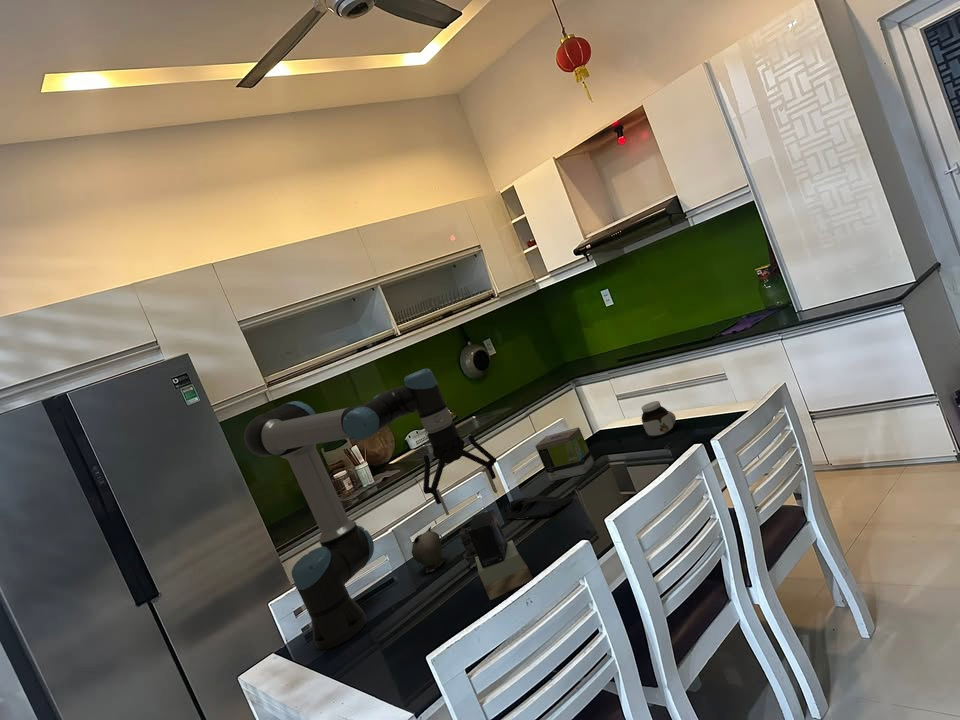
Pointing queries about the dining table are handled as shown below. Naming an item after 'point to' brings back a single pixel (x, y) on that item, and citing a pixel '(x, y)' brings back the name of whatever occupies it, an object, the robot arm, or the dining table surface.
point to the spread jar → (657, 419)
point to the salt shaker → (467, 546)
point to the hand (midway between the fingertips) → (471, 502)
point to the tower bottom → (508, 582)
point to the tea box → (565, 454)
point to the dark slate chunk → (537, 506)
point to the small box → (487, 538)
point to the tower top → (501, 566)
